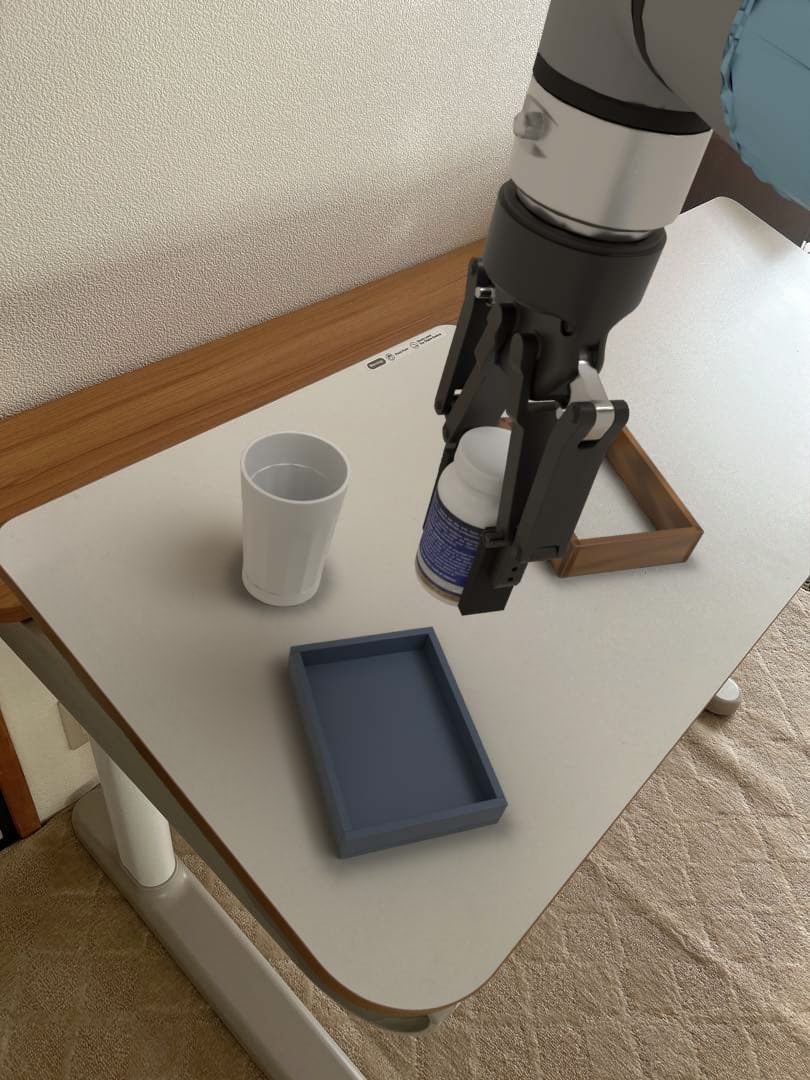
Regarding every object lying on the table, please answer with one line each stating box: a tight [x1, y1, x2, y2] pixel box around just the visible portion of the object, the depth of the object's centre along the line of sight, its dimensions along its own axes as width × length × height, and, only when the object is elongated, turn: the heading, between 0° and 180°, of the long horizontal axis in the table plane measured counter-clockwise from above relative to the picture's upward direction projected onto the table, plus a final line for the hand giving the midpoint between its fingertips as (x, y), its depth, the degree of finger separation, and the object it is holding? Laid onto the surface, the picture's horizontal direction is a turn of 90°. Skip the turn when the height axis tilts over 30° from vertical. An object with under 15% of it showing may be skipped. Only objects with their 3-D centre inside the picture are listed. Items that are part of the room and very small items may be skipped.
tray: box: [286, 626, 509, 860], centre depth 62 cm, size 15×11×3 cm
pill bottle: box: [414, 427, 511, 608], centre depth 51 cm, size 6×6×10 cm
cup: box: [239, 429, 352, 607], centre depth 68 cm, size 8×8×12 cm
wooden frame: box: [495, 416, 705, 578], centre depth 85 cm, size 18×14×4 cm
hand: (461, 567), depth 54 cm, fingers closed on pill bottle, 6 cm apart
